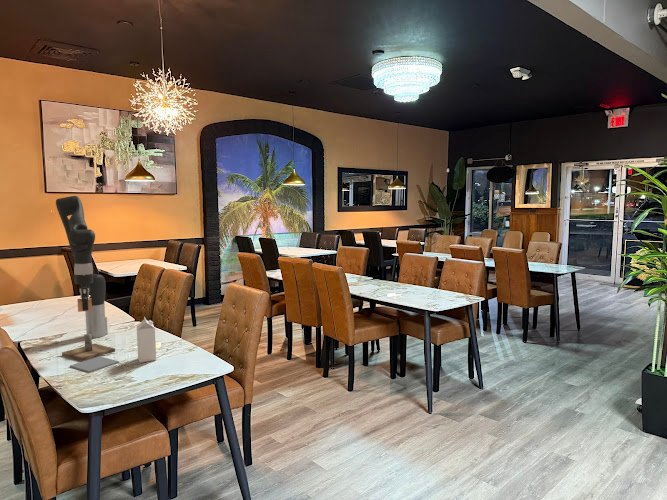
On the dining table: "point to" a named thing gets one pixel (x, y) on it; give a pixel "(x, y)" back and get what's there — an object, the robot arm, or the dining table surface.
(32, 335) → the dining table surface
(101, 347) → the brown board
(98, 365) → the mat
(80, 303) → the tan cube with tab
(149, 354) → the milk carton
